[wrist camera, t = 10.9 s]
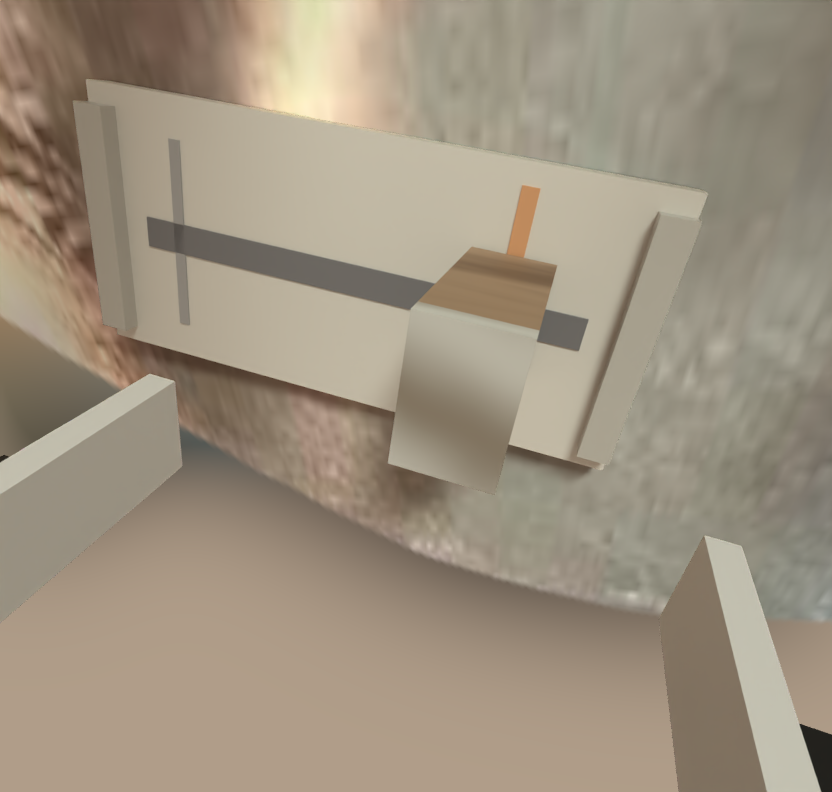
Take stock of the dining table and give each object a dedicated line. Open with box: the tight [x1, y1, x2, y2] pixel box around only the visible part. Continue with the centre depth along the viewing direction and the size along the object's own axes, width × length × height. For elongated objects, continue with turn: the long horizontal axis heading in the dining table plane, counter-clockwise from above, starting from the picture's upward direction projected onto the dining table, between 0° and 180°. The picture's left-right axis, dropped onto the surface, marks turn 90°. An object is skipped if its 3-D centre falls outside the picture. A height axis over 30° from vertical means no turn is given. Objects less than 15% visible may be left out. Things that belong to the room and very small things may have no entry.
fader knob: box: [388, 247, 557, 495], centre depth 23 cm, size 6×4×10 cm, turn 171°
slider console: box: [72, 79, 708, 470], centre depth 29 cm, size 14×30×2 cm, turn 81°
